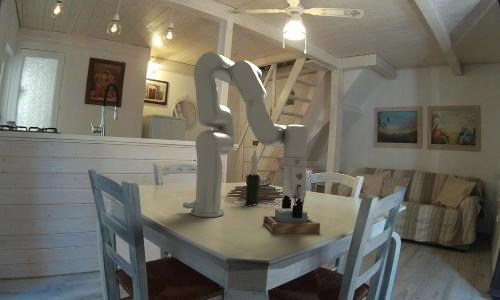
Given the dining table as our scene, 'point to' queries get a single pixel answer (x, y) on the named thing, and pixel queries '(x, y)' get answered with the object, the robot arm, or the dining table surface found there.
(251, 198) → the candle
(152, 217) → the dining table surface
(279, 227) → the wooden tray
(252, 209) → the dining table surface
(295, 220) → the grey block
